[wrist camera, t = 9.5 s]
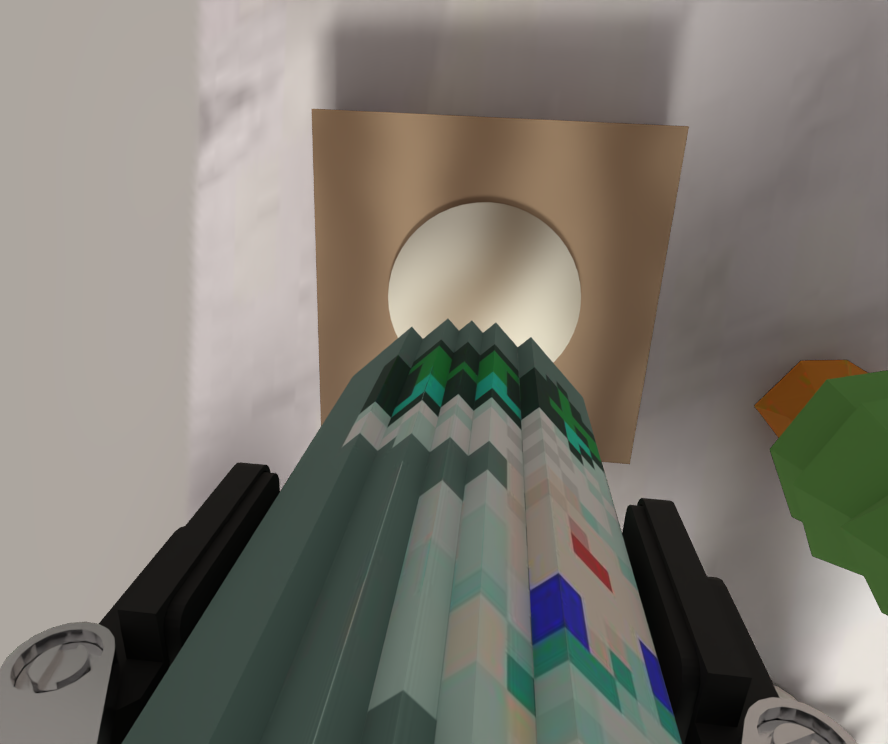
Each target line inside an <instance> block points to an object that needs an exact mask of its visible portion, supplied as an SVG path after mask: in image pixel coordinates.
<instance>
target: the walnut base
mask: <svg viewBox="0 0 888 744" xmlns="http://www.w3.org/2000/svg"><path fill="white" fill-rule="evenodd" d="M688 129H689V126H668V125H647V124H626V123H604V122H583V121H562V120H540V119H519V118H498V117H476V116H455V115H433V114H412V113H391V112H369V111H348V110H327V109H312V135H313V168H314V202H315V236H316V269H317V303H318V337H319V370H320V404H321V426H322V424H323V423H324V421H325V420H326V418H327V416H328V415H329V413H330V412H331V410H332V409H333V407H334V405H335V404H336V402H337V401H338V399H339V397H340V396H341V394H342V393H343V391H344V389H345V388H346V386H347V385H348V383H349V382H350V380H351V378H352V377H353V376H354V375H355V374H356V373H357V372H358V371H360V370H361V369H362V368H363V367H364V366H366V365H367V364H368V363H369V362H370V361H371V360H373V359H374V358H375V357H376V356H377V355H379V354H380V353H381V352H382V351H383V350H385V349H386V348H387V347H388V346H389V345H390V344H392V343H393V342H394V341H395V340H396V339H398V338H399V337H400V336H401V335H402V334H404V333H405V332H406V331H407V330H408V329H409V328H411V327H413V328H414V330H415V331H416V332H417V333H418V334H419V335H420V336H421V337H422V338H425V337H426V336H427V335H428V334H429V333H431V332H432V331H433V330H434V329H436V328H437V327H438V326H439V325H440V324H442V323H443V322H444V321H445V320H446V319H449V320H450V321H451V322H452V323H453V324H454V325H455V327H456V328H457V329H458V330H461V329H462V328H463V327H464V326H465V325H467V324H468V323H469V322H470V321H473V322H474V323H475V324H476V325H477V327H478V328H479V329H480V330H481V331H482V332H485V331H486V330H487V329H488V328H490V327H491V326H492V325H493V324H495V323H497V324H498V325H499V326H500V327H501V329H502V330H503V331H504V332H505V333H506V334H507V335H508V337H509V338H510V339H511V340H512V341H513V342H514V344H515V345H516V346H517V347H519V346H520V345H521V344H523V343H524V342H525V341H526V340H528V339H529V338H530V337H532V339H533V340H534V341H535V342H536V343H537V344H538V346H539V347H540V348H541V349H542V350H543V351H544V353H545V354H546V355H547V356H548V357H549V358H550V360H551V361H552V362H553V363H554V364H555V365H556V367H557V368H558V369H559V370H560V371H561V372H562V374H563V375H564V376H565V377H566V378H567V379H568V381H569V382H570V383H571V384H572V385H573V386H574V388H575V389H576V390H577V391H578V392H579V393H580V394H581V396H582V397H583V399H584V402H585V406H586V409H587V413H588V416H589V420H590V423H591V427H592V430H593V434H594V437H595V441H596V444H597V448H598V451H599V455H600V458H601V462H611V463H623V464H630V459H631V453H632V448H633V442H634V436H635V431H636V425H637V419H638V413H639V408H640V402H641V396H642V391H643V385H644V379H645V374H646V368H647V362H648V356H649V351H650V345H651V339H652V334H653V328H654V322H655V317H656V311H657V305H658V299H659V294H660V288H661V282H662V277H663V271H664V265H665V260H666V254H667V248H668V242H669V237H670V231H671V225H672V220H673V214H674V208H675V203H676V197H677V191H678V186H679V180H680V174H681V168H682V163H683V157H684V151H685V146H686V140H687V134H688Z"/></svg>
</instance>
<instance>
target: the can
mask: <svg viewBox="0 0 888 744" xmlns="http://www.w3.org/2000/svg"><path fill="white" fill-rule="evenodd" d="M122 744H682V742H681V738H680V735H679V731H678V728H677V724H676V721H675V717H674V714H673V710H672V707H671V703H670V700H669V696H668V693H667V689H666V686H665V682H664V679H663V675H662V672H661V668H660V665H659V661H658V658H657V654H656V651H655V647H654V644H653V640H652V637H651V633H650V630H649V626H648V623H647V619H646V616H645V612H644V609H643V605H642V602H641V598H640V595H639V591H638V588H637V584H636V581H635V577H634V574H633V570H632V567H631V563H630V560H629V556H628V553H627V549H626V546H625V542H624V539H623V535H622V532H621V528H620V525H619V521H618V518H617V514H616V511H615V507H614V504H613V500H612V497H611V493H610V490H609V486H608V483H607V479H606V476H605V472H604V469H603V465H602V462H601V458H600V455H599V451H598V448H597V444H596V441H595V437H594V434H593V430H592V427H591V423H590V420H589V416H588V413H587V409H586V406H585V402H584V399H583V397H582V396H581V394H580V393H579V392H578V391H577V390H576V389H575V388H574V386H573V385H572V384H571V383H570V382H569V381H568V379H567V378H566V377H565V376H564V375H563V374H562V372H561V371H560V370H559V369H558V368H557V367H556V365H555V364H554V363H553V362H552V361H551V360H550V358H549V357H548V356H547V355H546V354H545V353H544V351H543V350H542V349H541V348H540V347H539V346H538V344H537V343H536V342H535V341H534V340H533V339H532V337H530V338H529V339H528V340H526V341H525V342H524V343H523V344H521V345H520V346H519V347H517V346H516V345H515V344H514V342H513V341H512V340H511V339H510V338H509V337H508V335H507V334H506V333H505V332H504V331H503V330H502V329H501V327H500V326H499V325H498V324H497V323H495V324H493V325H492V326H491V327H490V328H488V329H487V330H486V331H485V332H482V331H481V330H480V329H479V328H478V327H477V325H476V324H475V323H474V322H473V321H470V322H469V323H468V324H467V325H465V326H464V327H463V328H462V329H461V330H458V329H457V328H456V327H455V325H454V324H453V323H452V322H451V321H450V320H449V319H446V320H445V321H444V322H443V323H442V324H440V325H439V326H438V327H437V328H436V329H434V330H433V331H432V332H431V333H429V334H428V335H427V336H426V337H425V338H422V337H421V336H420V335H419V334H418V333H417V332H416V331H415V330H414V328H413V327H411V328H409V329H408V330H407V331H406V332H405V333H404V334H402V335H401V336H400V337H399V338H398V339H396V340H395V341H394V342H393V343H392V344H390V345H389V346H388V347H387V348H386V349H385V350H383V351H382V352H381V353H380V354H379V355H377V356H376V357H375V358H374V359H373V360H371V361H370V362H369V363H368V364H367V365H366V366H364V367H363V368H362V369H361V370H360V371H358V372H357V373H356V374H355V375H354V376H353V377H352V378H351V380H350V382H349V383H348V385H347V386H346V388H345V389H344V391H343V393H342V394H341V396H340V397H339V399H338V401H337V402H336V404H335V405H334V407H333V409H332V410H331V412H330V413H329V415H328V416H327V418H326V420H325V421H324V423H323V424H322V426H321V428H320V429H319V431H318V432H317V434H316V436H315V437H314V439H313V440H312V442H311V443H310V445H309V447H308V448H307V450H306V451H305V453H304V455H303V456H302V458H301V459H300V461H299V463H298V464H297V466H296V467H295V469H294V471H293V472H292V474H291V475H290V477H289V478H288V480H287V482H286V483H285V485H284V486H283V488H282V490H281V491H280V493H279V494H278V496H277V498H276V499H275V501H274V502H273V504H272V505H271V507H270V509H269V510H268V512H267V513H266V515H265V517H264V518H263V520H262V521H261V523H260V525H259V526H258V528H257V529H256V531H255V532H254V534H253V536H252V537H251V539H250V540H249V542H248V544H247V545H246V547H245V548H244V550H243V552H242V553H241V555H240V556H239V558H238V559H237V561H236V563H235V564H234V566H233V567H232V569H231V571H230V572H229V574H228V575H227V577H226V579H225V580H224V582H223V583H222V585H221V586H220V588H219V590H218V591H217V593H216V594H215V596H214V598H213V599H212V601H211V602H210V604H209V606H208V607H207V609H206V610H205V612H204V613H203V615H202V617H201V618H200V620H199V621H198V623H197V625H196V626H195V628H194V629H193V631H192V633H191V634H190V636H189V637H188V639H187V640H186V642H185V644H184V645H183V647H182V648H181V650H180V652H179V653H178V655H177V656H176V658H175V660H174V661H173V663H172V664H171V666H170V667H169V669H168V671H167V672H166V674H165V675H164V677H163V679H162V680H161V682H160V683H159V685H158V687H157V688H156V690H155V691H154V693H153V694H152V696H151V698H150V699H149V701H148V702H147V704H146V706H145V707H144V709H143V710H142V712H141V714H140V715H139V717H138V718H137V720H136V722H135V723H134V725H133V726H132V728H131V729H130V731H129V733H128V734H127V736H126V737H125V739H124V741H123V742H122Z"/></svg>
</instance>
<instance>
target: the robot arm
mask: <svg viewBox="0 0 888 744" xmlns="http://www.w3.org/2000/svg"><path fill="white" fill-rule="evenodd" d="M279 493H280V487H279V477H278V475H277V474H276V473H270V469H269V467H268V466H267V465H261V464H250V463H237V464H236V465H234V467H233V468H232V469H231V470H230V472H229V473H228V474H227V475H226V476H225V478H224V479H223V480H222V481H221V483H220V484H219V485H218V486H217V488H216V489H215V490H214V491H213V492H212V494H211V495H210V496H209V497H208V499H207V500H206V501H205V502H204V504H203V505H202V506H201V507H200V508H199V510H198V511H197V512H196V513H195V515H194V516H193V517H192V518H191V520H190V521H189V522H188V523H187V524H186V526H184V527H181V528H179V529H178V530H176V531H175V532H174V533H173V535H172V536H171V537H170V538H169V540H168V541H167V542H166V543H165V544H164V546H163V547H162V548H161V549H160V550H159V552H158V553H157V554H156V555H155V557H154V558H153V559H152V560H151V561H150V562H149V564H148V565H147V566H146V567H145V568H144V570H143V571H142V572H141V573H140V574H139V576H138V577H137V578H136V579H135V581H134V582H133V583H132V584H131V585H130V587H129V588H128V589H127V590H126V591H125V593H124V594H123V595H122V596H121V598H120V599H119V600H118V601H117V602H116V604H115V605H114V606H113V607H112V609H111V610H110V611H109V612H108V613H107V614H106V616H105V617H104V618H103V619H102V621H101V622H100V623H99V624H97V623H90V622H76V623H67V624H64V625H60V626H56V627H53V628H50V629H48V630H46V631H43V632H41V633H39V634H37V635H35V636H33V637H32V638H30V639H29V640H27V641H26V642H24V643H23V644H21V645H20V646H18V647H17V648H16V649H15V650H14V651H13V652H12V653H11V654H10V655H9V656H8V657H7V658H6V660H5V661H4V663H3V665H2V666H1V668H0V744H122V742H123V741H124V739H125V737H126V736H127V734H128V733H129V731H130V729H131V728H132V726H133V725H134V723H135V722H136V720H137V718H138V717H139V715H140V714H141V712H142V710H143V709H144V707H145V706H146V704H147V702H148V701H149V699H150V698H151V696H152V694H153V693H154V691H155V690H156V688H157V687H158V685H159V683H160V682H161V680H162V679H163V677H164V675H165V674H166V672H167V671H168V669H169V667H170V666H171V664H172V663H173V661H174V660H175V658H176V656H177V655H178V653H179V652H180V650H181V648H182V647H183V645H184V644H185V642H186V640H187V639H188V637H189V636H190V634H191V633H192V631H193V629H194V628H195V626H196V625H197V623H198V621H199V620H200V618H201V617H202V615H203V613H204V612H205V610H206V609H207V607H208V606H209V604H210V602H211V601H212V599H213V598H214V596H215V594H216V593H217V591H218V590H219V588H220V586H221V585H222V583H223V582H224V580H225V579H226V577H227V575H228V574H229V572H230V571H231V569H232V567H233V566H234V564H235V563H236V561H237V559H238V558H239V556H240V555H241V553H242V552H243V550H244V548H245V547H246V545H247V544H248V542H249V540H250V539H251V537H252V536H253V534H254V532H255V531H256V529H257V528H258V526H259V525H260V523H261V521H262V520H263V518H264V517H265V515H266V513H267V512H268V510H269V509H270V507H271V505H272V504H273V502H274V501H275V499H276V498H277V496H278V494H279ZM622 535H623V539H624V542H625V546H626V549H627V553H628V556H629V560H630V563H631V567H632V570H633V574H634V577H635V581H636V584H637V588H638V591H639V595H640V598H641V602H642V605H643V609H644V612H645V616H646V619H647V623H648V626H649V630H650V633H651V637H652V640H653V644H654V647H655V651H656V654H657V658H658V661H659V665H660V668H661V672H662V675H663V679H664V682H665V686H666V689H667V693H668V696H669V700H670V703H671V707H672V710H673V714H674V717H675V721H676V724H677V728H678V731H679V735H680V738H681V742H682V744H857V742H856V740H855V739H854V738H853V737H852V736H851V735H850V734H849V733H848V732H847V731H846V730H845V729H844V728H843V727H842V726H841V725H840V724H838V723H837V722H836V721H834V720H833V719H832V718H830V717H829V716H827V715H826V714H825V713H823V712H821V711H819V710H817V709H815V708H813V707H811V706H809V705H807V704H805V703H802V702H798V701H797V700H796V699H795V698H794V697H793V696H791V695H790V694H788V693H787V692H785V691H784V690H782V689H781V688H779V687H777V686H775V685H773V683H772V681H771V679H770V677H769V675H768V672H767V670H766V668H765V666H764V664H763V662H762V660H761V658H760V656H759V654H758V652H757V650H756V648H755V645H754V643H753V641H752V639H751V637H750V635H749V633H748V631H747V629H746V627H745V625H744V623H743V620H742V618H741V616H740V614H739V612H738V610H737V608H736V606H735V604H734V602H733V600H732V598H731V596H730V593H729V591H728V589H727V587H726V586H725V584H724V582H723V581H722V580H721V579H719V578H716V577H707V576H706V574H705V571H704V569H703V567H702V565H701V562H700V560H699V558H698V556H697V554H696V551H695V549H694V547H693V545H692V542H691V540H690V538H689V536H688V533H687V531H686V529H685V527H684V525H683V522H682V520H681V518H680V516H679V513H678V511H677V509H676V507H675V505H674V503H673V502H672V501H667V500H656V499H645V498H641V499H640V500H639V501H638V504H637V506H635V505H629V506H628V508H627V511H626V516H625V521H624V527H623V532H622Z"/></svg>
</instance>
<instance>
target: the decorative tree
mask: <svg viewBox="0 0 888 744" xmlns="http://www.w3.org/2000/svg"><path fill="white" fill-rule="evenodd" d="M754 406H755V408H756V409H757V410H758V412H759V413H760V414H761V415H762V417H763V418H764V419H765V421H766V422H767V423H768V425H769V426H770V427H771V429H772V430H773V431H774V432H775V434H776V435H777V436H778V440H777V441H776V442H775V443H774V444H773V446H772V447H771V448H770V452H771V455H772V458H773V461H774V464H775V467H776V470H777V473H778V476H779V479H780V482H781V486H782V489H783V492H784V495H785V498H786V501H787V504H788V507H789V510H790V513H791V516H792V517H793V518H795V519H797V520H799V521H801V522H803V525H804V529H805V532H806V536H807V540H808V543H809V547H810V550H811V554H812V556H813V557H816V558H819V559H821V560H824V561H826V562H829V563H832V564H834V565H837V566H839V567H842V568H844V569H847V570H850V571H852V572H855V573H857V574H860V575H863V576H864V577H865V579H866V581H867V583H868V585H869V587H870V589H871V591H872V594H873V596H874V598H875V600H876V602H877V604H878V606H879V608H880V610H881V612H882V613H884V614H886V615H888V370H887V371H880V372H873V373H867V372H866V371H864V370H862V369H861V368H859V367H858V366H856V365H854V364H853V363H851V362H849V361H848V360H808V361H800V362H799V363H798V364H797V365H796V366H795V367H794V368H793V369H792V370H791V371H790V372H789V373H787V374H786V375H785V376H784V377H783V378H782V379H781V380H780V381H779V382H778V383H777V384H776V385H775V386H774V387H773V388H772V389H771V390H770V391H769V392H768V393H767V394H766V395H765V396H764V397H763V398H762V399H760V400H759V401H758V402H757V403H756V404H755V405H754Z"/></svg>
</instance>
